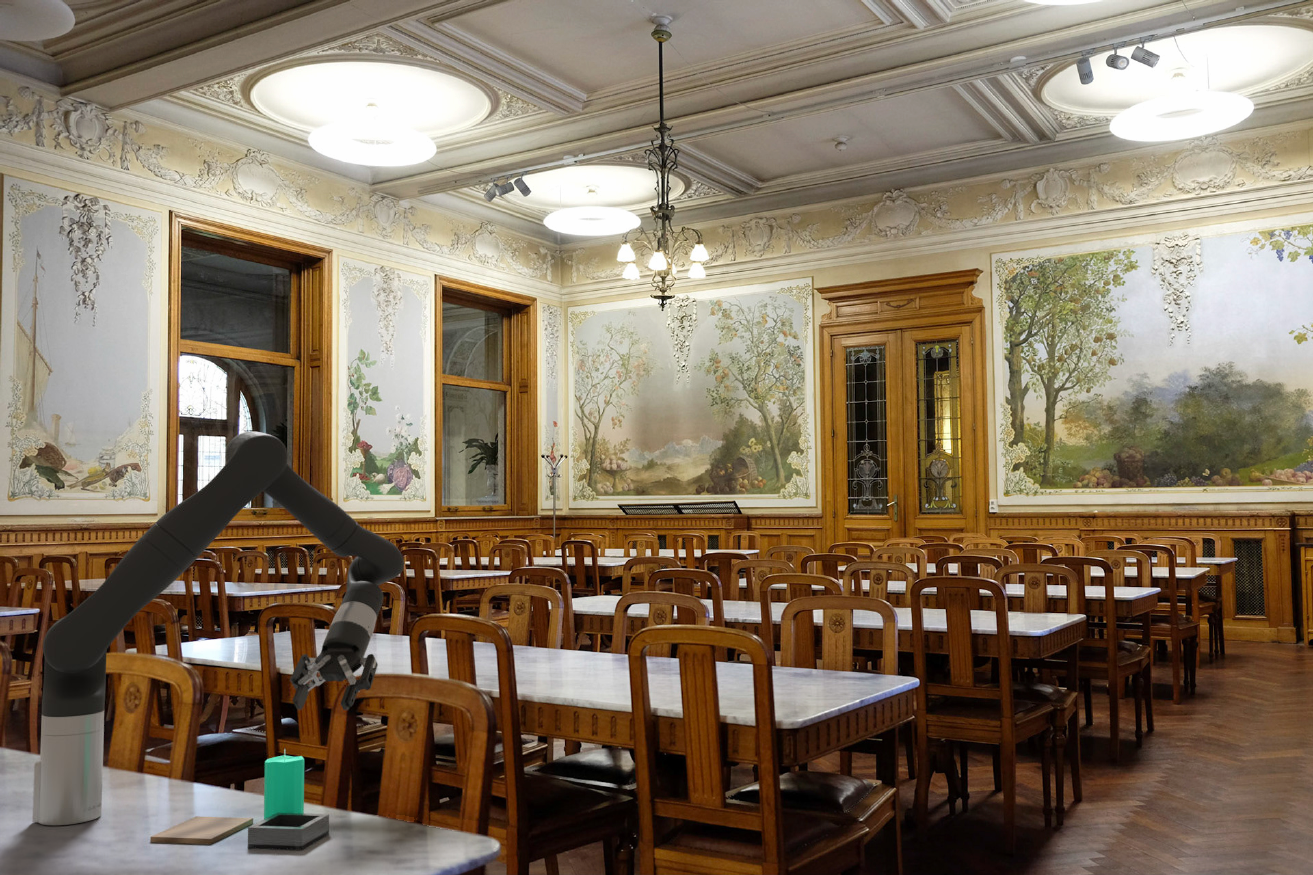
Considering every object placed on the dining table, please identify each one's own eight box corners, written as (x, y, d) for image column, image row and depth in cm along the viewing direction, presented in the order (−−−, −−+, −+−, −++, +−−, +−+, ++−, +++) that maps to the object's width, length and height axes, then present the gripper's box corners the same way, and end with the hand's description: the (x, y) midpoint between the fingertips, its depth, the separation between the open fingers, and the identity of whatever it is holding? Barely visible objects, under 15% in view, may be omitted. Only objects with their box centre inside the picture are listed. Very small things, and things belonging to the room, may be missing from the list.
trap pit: (247, 848, 162) (248, 827, 163) (277, 832, 171) (277, 812, 171) (301, 850, 161) (302, 829, 161) (328, 834, 170) (329, 814, 170)
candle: (291, 831, 171) (292, 753, 172) (256, 830, 173) (257, 752, 174) (310, 821, 177) (311, 745, 178) (276, 820, 178) (277, 744, 179)
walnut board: (150, 841, 166) (150, 836, 167) (196, 821, 178) (196, 816, 178) (211, 844, 165) (211, 838, 165) (253, 823, 177) (253, 817, 177)
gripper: (307, 619, 199) (274, 693, 186) (381, 618, 196) (353, 693, 184) (320, 646, 203) (289, 719, 191) (393, 645, 201) (366, 720, 189)
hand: (320, 706), depth 188 cm, fingers open, 8 cm apart
